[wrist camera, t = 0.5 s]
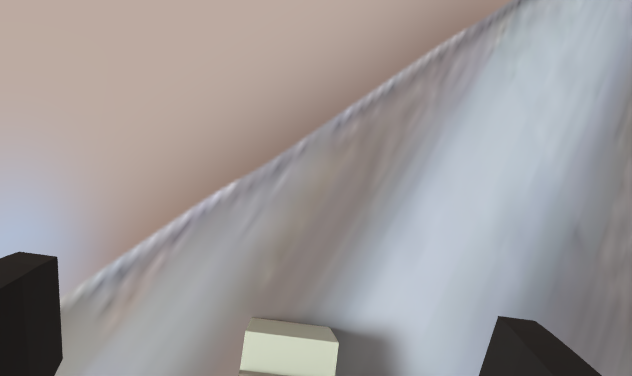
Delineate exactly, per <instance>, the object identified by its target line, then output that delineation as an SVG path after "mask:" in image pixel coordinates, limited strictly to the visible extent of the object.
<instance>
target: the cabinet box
mask: <svg viewBox="0 0 632 376" xmlns="http://www.w3.org/2000/svg"><path fill="white" fill-rule="evenodd" d="M338 346H339V342H338V340H337V339H336V337H335V336H334V334H333V332H332V331H331V329H330V328H329V327H323V326H315V325H307V324H299V323H291V322H283V321H275V320H268V319H260V318H251V320H250V322H249V325H248V327H247V329H246V332H245V339H244V346H243V353H242V359H241V366H240V371H239V375H238V376H335V370H336V362H337V354H338Z"/></svg>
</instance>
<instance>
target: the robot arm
mask: <svg viewBox="0 0 632 376" xmlns="http://www.w3.org/2000/svg"><path fill="white" fill-rule="evenodd" d="M62 359H63V356H62V337H61V318H60V299H59V280H58V261H57V257H55V256H47V255H40V254H32V253H25V252H17V253H14V254H11V255H8V256H5V257H3V258H0V376H54V375H55V373H56V371H57V369H58V367H59V365H60V363H61V361H62ZM479 376H601V375H600V374H599V373H598V372H597V371H596V370H594V369H593V368H592V367H591V366H590V365H589V364H587V363H586V362H585V361H584V360H583V359H582V358H580V357H579V356H578V355H577V354H576V353H575V352H573V351H572V350H571V349H570V348H569V347H567V346H566V345H565V344H564V343H563V342H561V341H560V340H559V339H558V338H557V337H555V336H554V335H553V334H552V333H550V332H549V331H548V330H547V329H545V328H544V327H542V326H541V325H540V324H538V323H537V322H536V321H531V320H524V319H516V318H509V317H501V316H498V319H497V322H496V325H495V328H494V331H493V334H492V337H491V340H490V343H489V346H488V349H487V352H486V355H485V358H484V362H483V365H482V368H481V371H480V374H479Z"/></svg>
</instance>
